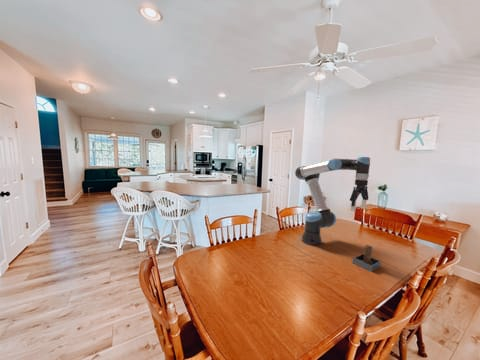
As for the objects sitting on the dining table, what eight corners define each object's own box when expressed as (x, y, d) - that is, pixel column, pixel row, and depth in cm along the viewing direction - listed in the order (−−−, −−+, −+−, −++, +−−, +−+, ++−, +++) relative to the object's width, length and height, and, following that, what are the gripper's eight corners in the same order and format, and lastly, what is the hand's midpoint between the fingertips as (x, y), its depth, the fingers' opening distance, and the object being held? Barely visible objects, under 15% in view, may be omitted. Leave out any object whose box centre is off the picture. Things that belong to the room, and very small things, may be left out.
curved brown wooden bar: (363, 263, 130) (365, 245, 128) (364, 262, 131) (367, 244, 129) (368, 265, 127) (370, 247, 126) (369, 264, 128) (372, 246, 127)
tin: (352, 262, 131) (352, 257, 130) (361, 258, 137) (362, 253, 136) (371, 271, 121) (372, 266, 120) (380, 266, 127) (381, 261, 127)
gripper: (357, 180, 128) (354, 213, 131) (376, 179, 142) (372, 209, 144) (346, 179, 135) (342, 210, 137) (364, 178, 148) (361, 206, 151)
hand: (358, 209), depth 141 cm, fingers open, 13 cm apart
